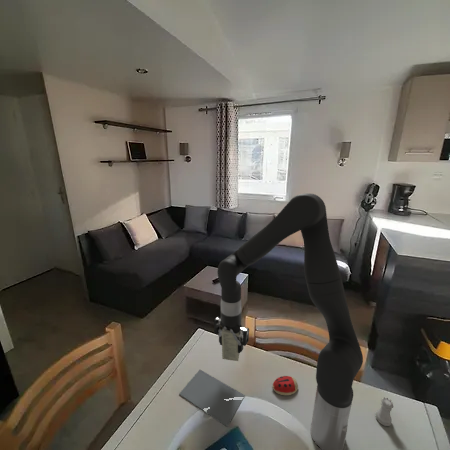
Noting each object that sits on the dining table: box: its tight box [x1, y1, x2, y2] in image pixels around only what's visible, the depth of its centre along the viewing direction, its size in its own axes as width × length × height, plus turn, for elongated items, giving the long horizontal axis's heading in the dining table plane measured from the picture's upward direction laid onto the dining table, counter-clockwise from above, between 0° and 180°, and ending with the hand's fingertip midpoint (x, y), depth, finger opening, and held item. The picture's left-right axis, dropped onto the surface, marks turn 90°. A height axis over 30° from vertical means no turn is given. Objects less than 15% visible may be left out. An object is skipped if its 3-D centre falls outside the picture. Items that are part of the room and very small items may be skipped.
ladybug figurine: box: [271, 375, 299, 396], centre depth 86 cm, size 7×10×4 cm
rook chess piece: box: [375, 396, 394, 427], centre depth 75 cm, size 4×4×8 cm
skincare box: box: [221, 329, 240, 362], centre depth 88 cm, size 6×4×12 cm
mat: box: [178, 369, 246, 428], centre depth 83 cm, size 20×12×1 cm, turn 59°
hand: (230, 347), depth 88 cm, fingers closed on skincare box, 7 cm apart
